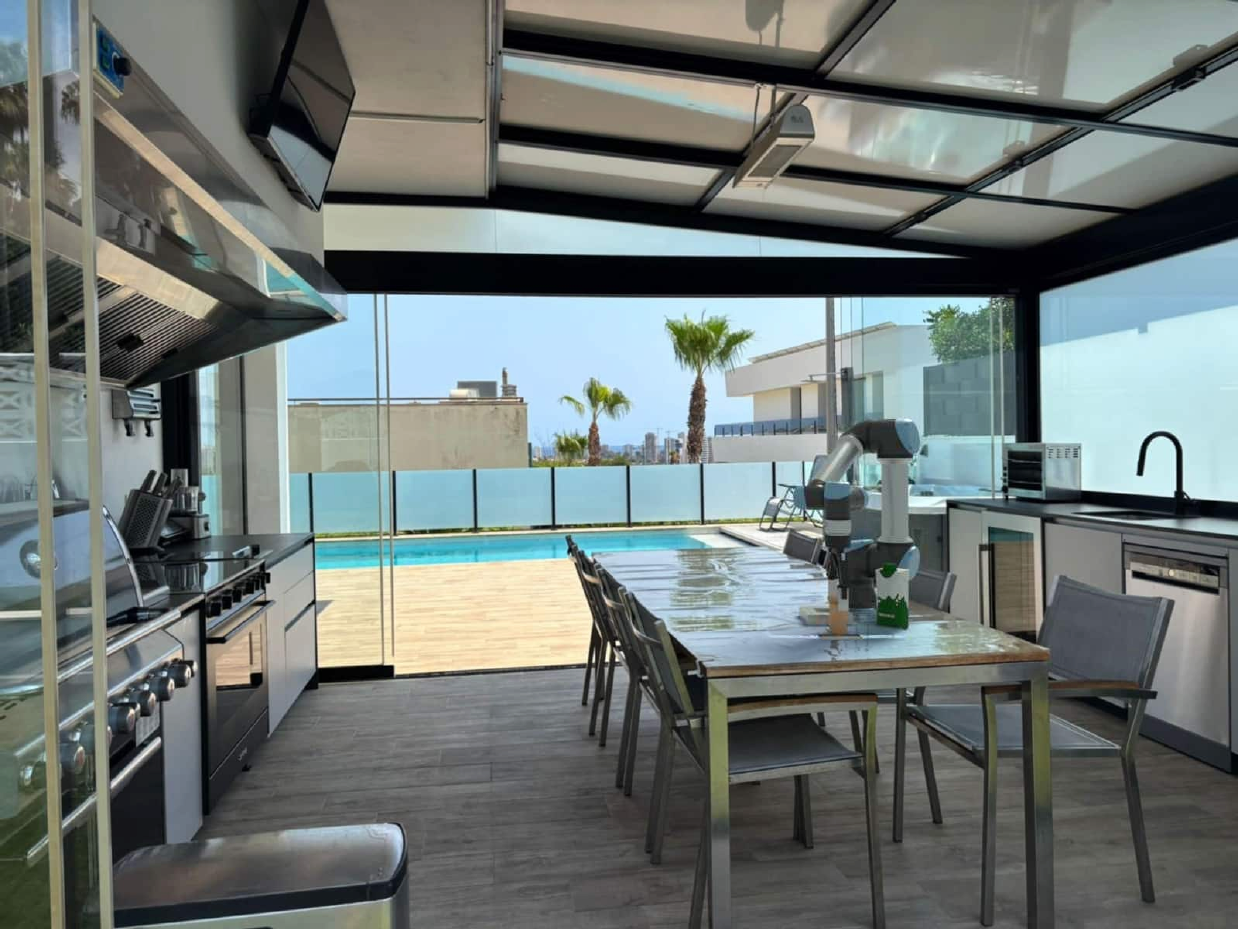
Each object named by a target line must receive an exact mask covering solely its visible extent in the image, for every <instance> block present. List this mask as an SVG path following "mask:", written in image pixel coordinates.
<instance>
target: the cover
mask: <svg viewBox="0 0 1238 929" xmlns="http://www.w3.org/2000/svg"><path fill="white" fill-rule="evenodd" d="M826 601H827V602H828V601H829V602H828V603H829V604H828V606H829V625H828V626H829V627H828V628H829V633H830V635H834V636H845V635H847V632H848V625H847V611H839V610H838V595H830V596H828V595H827V600H826Z"/></svg>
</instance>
